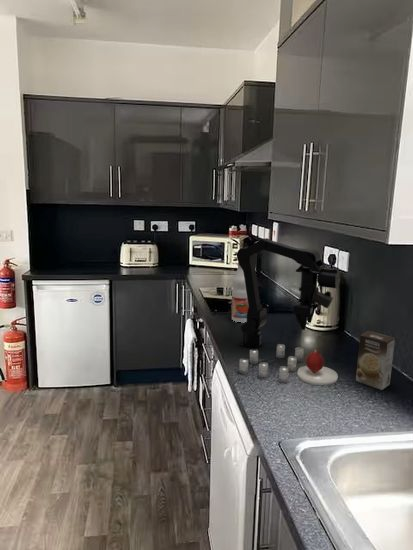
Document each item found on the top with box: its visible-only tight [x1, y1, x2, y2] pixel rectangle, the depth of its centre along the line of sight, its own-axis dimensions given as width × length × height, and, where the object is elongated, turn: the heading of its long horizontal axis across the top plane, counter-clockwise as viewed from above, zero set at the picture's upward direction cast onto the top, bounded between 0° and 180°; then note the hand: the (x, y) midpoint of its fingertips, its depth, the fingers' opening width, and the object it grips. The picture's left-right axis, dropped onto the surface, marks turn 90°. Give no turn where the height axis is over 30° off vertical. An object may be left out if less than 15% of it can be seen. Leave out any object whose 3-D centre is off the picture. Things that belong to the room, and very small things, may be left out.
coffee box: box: [355, 330, 396, 391], centre depth 134 cm, size 9×6×16 cm
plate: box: [296, 365, 339, 387], centre depth 140 cm, size 13×13×1 cm
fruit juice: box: [231, 262, 249, 324], centre depth 197 cm, size 9×9×28 cm
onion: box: [305, 349, 325, 373], centre depth 140 cm, size 6×6×8 cm
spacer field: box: [238, 343, 305, 384], centre depth 148 cm, size 17×22×4 cm
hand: (306, 326), depth 154 cm, fingers open, 9 cm apart
